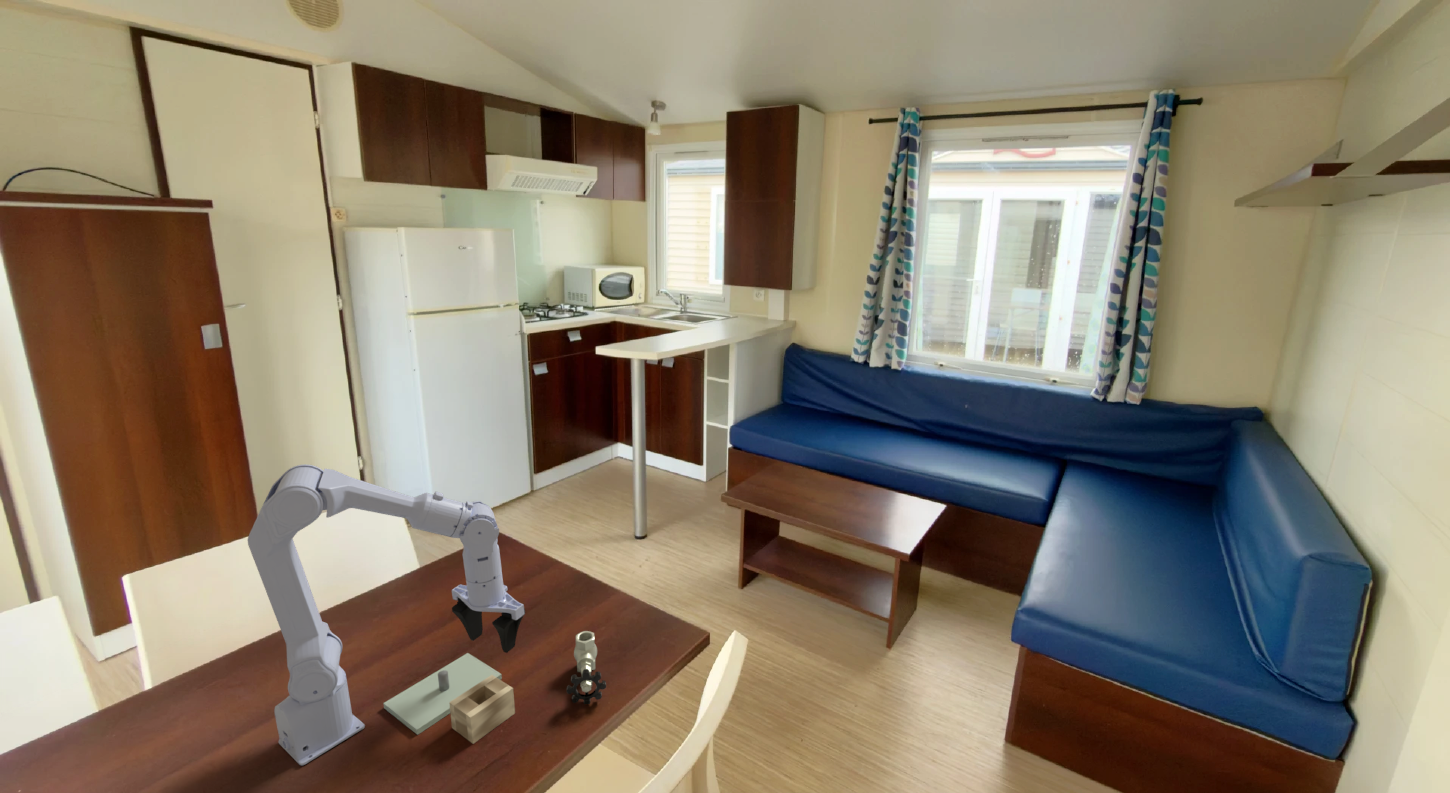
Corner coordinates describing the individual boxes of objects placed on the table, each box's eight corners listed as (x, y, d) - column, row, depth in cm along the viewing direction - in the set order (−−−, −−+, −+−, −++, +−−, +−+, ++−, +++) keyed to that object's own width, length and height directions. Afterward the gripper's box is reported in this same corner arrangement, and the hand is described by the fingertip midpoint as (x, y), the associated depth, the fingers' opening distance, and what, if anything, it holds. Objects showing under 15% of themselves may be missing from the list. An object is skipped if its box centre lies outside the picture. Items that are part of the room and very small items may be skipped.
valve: (568, 662, 119) (567, 708, 107) (566, 631, 117) (565, 675, 106) (603, 657, 120) (606, 702, 109) (602, 627, 118) (605, 670, 107)
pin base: (417, 734, 101) (414, 713, 100) (384, 708, 106) (381, 688, 105) (501, 678, 114) (500, 659, 113) (468, 657, 119) (466, 639, 118)
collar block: (473, 743, 99) (470, 717, 98) (452, 728, 102) (449, 702, 101) (515, 713, 106) (513, 688, 104) (494, 699, 109) (492, 674, 107)
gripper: (533, 571, 106) (540, 640, 110) (470, 553, 112) (479, 619, 116) (503, 593, 100) (511, 665, 104) (438, 573, 106) (448, 642, 110)
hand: (492, 643), depth 110 cm, fingers open, 7 cm apart
